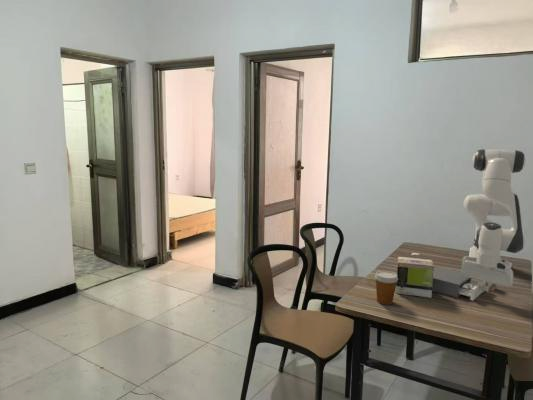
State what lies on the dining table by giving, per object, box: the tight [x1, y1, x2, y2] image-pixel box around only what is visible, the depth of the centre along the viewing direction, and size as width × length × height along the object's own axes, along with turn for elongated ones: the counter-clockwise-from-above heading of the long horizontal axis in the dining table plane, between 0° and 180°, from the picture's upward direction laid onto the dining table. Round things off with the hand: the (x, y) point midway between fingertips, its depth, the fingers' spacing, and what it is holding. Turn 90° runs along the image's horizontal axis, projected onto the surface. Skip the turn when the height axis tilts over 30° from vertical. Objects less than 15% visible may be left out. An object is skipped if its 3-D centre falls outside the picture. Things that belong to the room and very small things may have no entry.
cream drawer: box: [459, 281, 486, 302], centre depth 183 cm, size 17×15×5 cm
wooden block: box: [485, 282, 497, 292], centre depth 187 cm, size 5×5×5 cm
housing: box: [432, 266, 473, 299], centre depth 187 cm, size 18×15×6 cm
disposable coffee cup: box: [374, 270, 398, 305], centre depth 169 cm, size 10×10×12 cm
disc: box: [459, 281, 473, 290], centre depth 182 cm, size 6×6×2 cm
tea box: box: [395, 256, 435, 299], centre depth 180 cm, size 15×10×15 cm, turn 71°
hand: (484, 290), depth 176 cm, fingers closed
